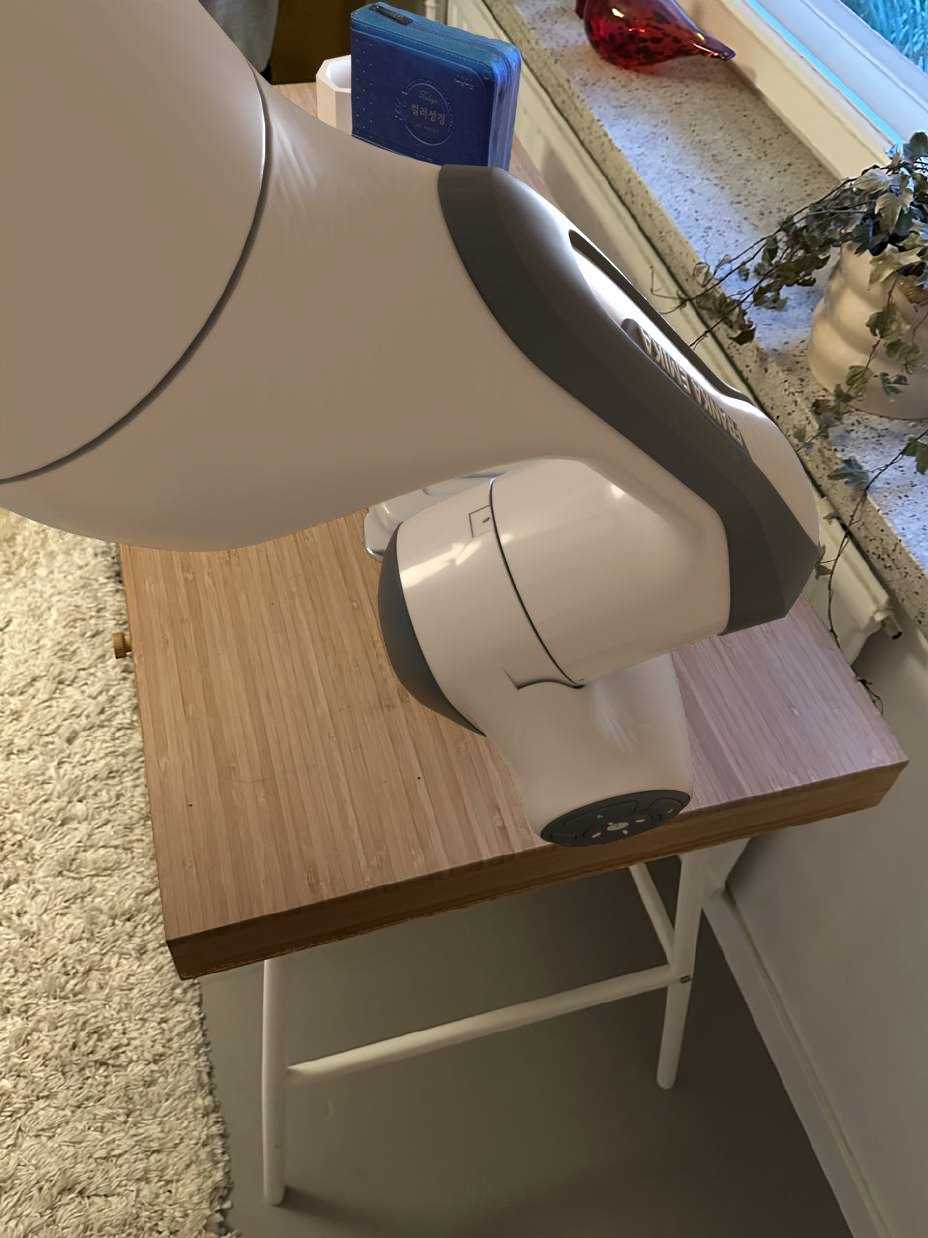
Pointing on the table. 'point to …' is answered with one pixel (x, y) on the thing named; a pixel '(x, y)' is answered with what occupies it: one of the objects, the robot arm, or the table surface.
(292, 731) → the table surface
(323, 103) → the mug
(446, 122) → the book
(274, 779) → the table surface
